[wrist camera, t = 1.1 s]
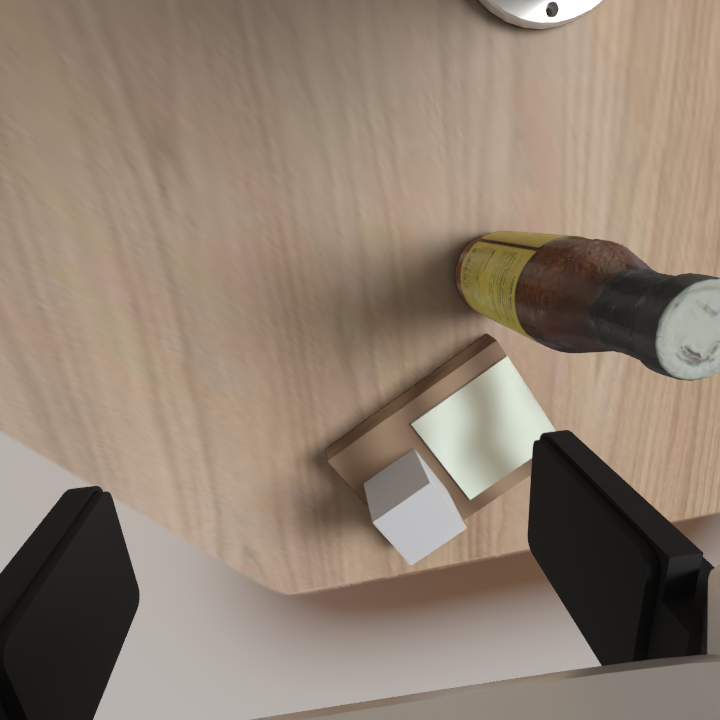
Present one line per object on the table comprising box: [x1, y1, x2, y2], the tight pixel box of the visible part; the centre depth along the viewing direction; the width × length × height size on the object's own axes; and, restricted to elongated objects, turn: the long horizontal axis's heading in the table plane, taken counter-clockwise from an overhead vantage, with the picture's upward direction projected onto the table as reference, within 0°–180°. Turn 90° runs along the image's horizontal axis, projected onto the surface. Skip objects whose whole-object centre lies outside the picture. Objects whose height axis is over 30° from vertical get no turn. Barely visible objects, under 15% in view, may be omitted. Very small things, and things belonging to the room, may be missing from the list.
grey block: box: [364, 449, 466, 566], centre depth 37 cm, size 5×5×5 cm
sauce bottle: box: [455, 231, 720, 381], centre depth 27 cm, size 7×6×20 cm
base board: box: [326, 334, 556, 520], centre depth 40 cm, size 16×12×2 cm
